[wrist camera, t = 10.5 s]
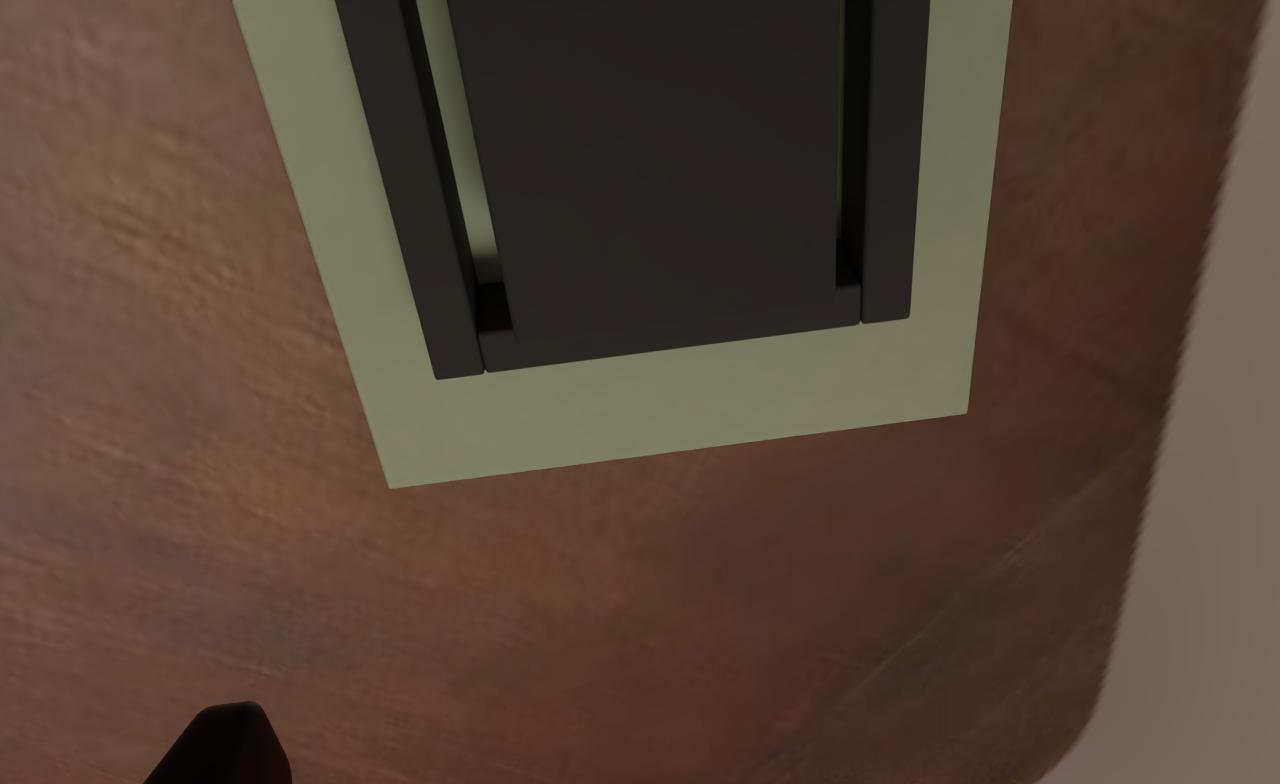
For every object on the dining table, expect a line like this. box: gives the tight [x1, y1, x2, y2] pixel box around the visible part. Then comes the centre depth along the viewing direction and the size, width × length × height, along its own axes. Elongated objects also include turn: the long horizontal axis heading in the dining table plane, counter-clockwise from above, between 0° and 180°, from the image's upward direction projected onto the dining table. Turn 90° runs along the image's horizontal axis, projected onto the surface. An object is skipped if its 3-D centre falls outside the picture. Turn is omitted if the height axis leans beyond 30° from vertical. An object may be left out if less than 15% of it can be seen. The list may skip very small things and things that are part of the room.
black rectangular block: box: [447, 0, 840, 344], centre depth 15 cm, size 6×4×3 cm
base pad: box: [231, 0, 1013, 489], centre depth 16 cm, size 16×11×3 cm
